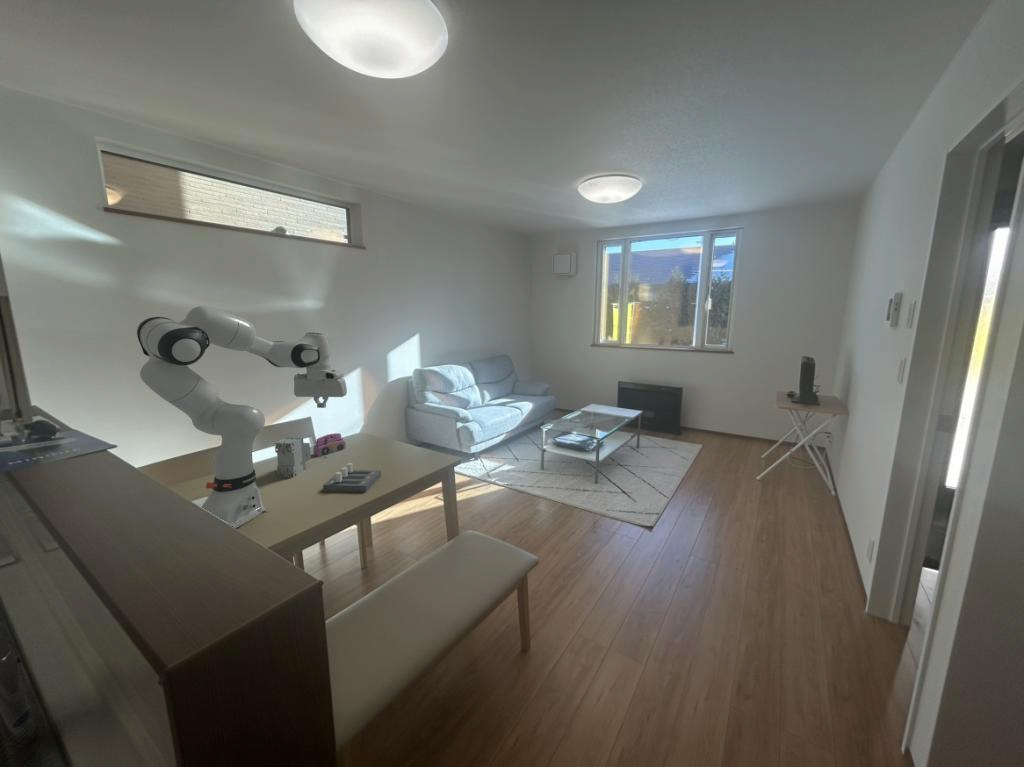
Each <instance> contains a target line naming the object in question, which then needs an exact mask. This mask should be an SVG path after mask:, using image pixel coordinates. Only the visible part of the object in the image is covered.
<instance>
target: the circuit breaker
mask: <svg viewBox="0 0 1024 767" xmlns="http://www.w3.org/2000/svg"><path fill="white" fill-rule="evenodd" d="M274 444H275V446H274V451H275V454H276V456H277V464H278V465H277V466H276V470H277V471H276V472H277V474H278V475H277V476H278V477H282V478H283V477H284V478H295V477H297V476H299V475H300V474H301V473H303V472H304V471H306V469H307V468H306V463H307V462H308V461H309V460H312V459H311V458H312V456H311V449H312V448H311V445H310V444H311V443H310V442H304V437H291V436H290V437H289V436H288V437H287V436H286V437H284V438H282V439H280V440H278V441H276V442H274Z"/></svg>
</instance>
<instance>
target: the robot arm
mask: <svg viewBox="0 0 1024 767" xmlns="http://www.w3.org/2000/svg"><path fill="white" fill-rule="evenodd" d="M136 336H137V340H138V342H139V344H140V346H141V350H142V353H143V354H144V355H145V356H147V357H149V358H148V360H147V362H146V363H144V364H143V366H142V367H141V369H140V371H139V375H140V379H141V381H142V382H143V383H144V384H145V385H146V386H147V387H148V388H150V390H152V391H153V392H154V393H155V394H156V395H158V396H159V397H160V398H162V399H163V400H164V401H167V402H168V403H169V404H171V405H172V406H174V407H175V408H177V409H178V410H180V411H181V412H183V413H184V414H185V415H186V416H187V417H189V418H190V419H191V422H192V426H194V428H195V429H196V430H198V431H200V432H203V433H205V434H208V435H215V436H220V437H221V444H220V448H219V449H217V450H216V451H215V452H214V454H213V465H214V466H213V467H214V472H215V474H214V475H215V476H214V477H213V482H206V485H205V488H206V489H212V491H211V492H210V494H209V495H208V497H207V499H206V500H205V501H204V503H203V504H202V505H201V507H202V508H204V509H205V510H207V511H209V512H211V513H212V514H214V515H215V516H217V517H219V518H220V519H222V520H224V521H226V522H227V523H229V524H230V525H232V526H233V527H234V528H235V529H237V528H239V527H241V526H242V525H244V524H246V523H248V522H250V521H251V520H253V519H254V518H257V517H259V516H260V515H262V514H264V513H265V512H266V507H265V506H263V505H264V504H263V501H262V497H261V492H260V489H259V487H258V486H257V482H256V480H257V474H256V470H255V469H254V463H253V460H254V459H253V445H254V443H255V439H256V438H257V436H258V435H259V434H260V433H261V432H262V430H263V429H264V428H265V424H266V419H265V415H264V413H263V412H262V411H261V410H259V409H258V408H255V407H254V406H250V405H245V404H235V403H229V402H226V401H224V400H222V399H221V398H220V397H219V396H218V395H219V393H218V389H217V388H216V387H215V385H212V384H211V383H210V382H209V381H207V380H206V379H205V378H203V377H202V376H200V375H199V374H198V373H197V372H196V371H194V370H193V369H192V368H190V367H189V365H194V364H195V363H197V362H199V360H200V359H201V358H202V357H203V356H204V355H205V352H206V350H207V349H208V348H209V347H210V344H211V345H215V346H218V347H221V348H224V349H228V350H231V351H239V352H248V353H250V354H254V355H257V356H259V357H261V358H263V359H265V360H266V361H267V362H268V363H269V364H271V365H272V366H273V367H277V368H292V369H304V368H306V373H296V374H295V375H294V377H293V382H294V383H293V384H294V386H293V394H294V396H295V397H299V398H313V401H314V402H315V404H316V407H317V408H318V409H325V408H327V402H328V400H329V398H343V397H346V396H347V394H348V390H347V384H346V380H345V378H344V372H343V371H340V370H338V369H335V368H332V366H331V362H330V357H331V353H330V345H329V341H328V337H327V335H325V334H323V333H321V332H320V333H318V332H306V333H305V334H304V336H303V337H301V338H300V339H298V340H295V341H294V342H293V341H292V342H291V341H282V340H281V341H280V340H279V341H278V340H276V341H269V340H267V339H264V338H263V337H260V336H258V335H257V329H256V327H255V325H254V324H253V323H251V321H249V320H247V319H245V318H243V317H242V316H238V315H235V314H234V313H231V312H229V311H228V312H227V311H225V310H222V309H217V308H213V307H209V306H202V305H200V306H195V307H194V308H191V309H190V310H189V312H188V313H187V314H186V317H185V318H184V319H183V320H181V321H179V322H178V321H175V320H174V319H171V318H168V317H164V316H153V317H149V318H146V319H144V320H142V322H140V323H139V325H138V327H137V329H136ZM320 398H322V400H323V401H322V402H321V401H320ZM232 522H235V523H234V524H232Z"/></svg>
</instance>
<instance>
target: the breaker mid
mask: <svg viewBox="0 0 1024 767" xmlns="http://www.w3.org/2000/svg"><path fill="white" fill-rule="evenodd" d="M340 471H341V472H342V477H347V476H348V469H347V466H345V467H342V468H340Z"/></svg>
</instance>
